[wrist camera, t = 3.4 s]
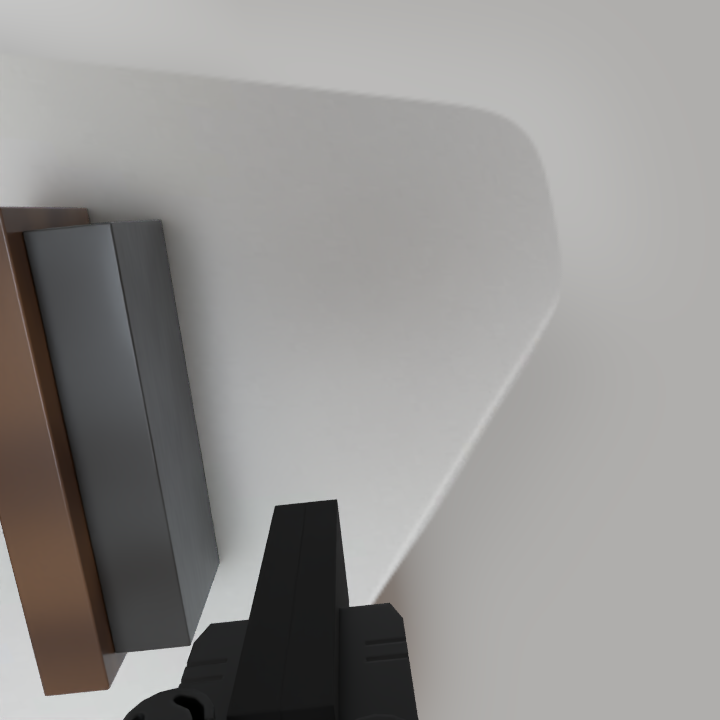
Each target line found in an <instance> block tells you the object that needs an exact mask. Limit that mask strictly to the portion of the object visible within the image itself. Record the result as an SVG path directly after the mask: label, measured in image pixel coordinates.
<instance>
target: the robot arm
mask: <svg viewBox="0 0 720 720" xmlns="http://www.w3.org/2000/svg"><path fill="white" fill-rule="evenodd" d="M124 720H418V715H417V709H416V702H415V695H414V689H413V682H412V676H411V669H410V662H409V657H408V649H407V643H406V636H405V629H404V623H403V618H402V617H401V615H400V614H399V613H398V612H397V611H396V610H395V609H394V607H393V606H392V605H391V604H390V603H384V604H374V605H365V606H356V607H349V597H348V588H347V580H346V571H345V563H344V554H343V546H342V537H341V529H340V520H339V512H338V503H337V499H335V500H326V501H316V502H307V503H297V504H288V505H278V506H275V509H274V513H273V517H272V522H271V526H270V530H269V535H268V539H267V543H266V548H265V552H264V556H263V561H262V565H261V569H260V574H259V578H258V582H257V587H256V591H255V595H254V599H253V604H252V608H251V612H250V617H249V620H242V621H233V622H223V623H214V624H210V625H209V626H208V627H207V629H206V630H205V631H204V632H203V633H202V634H201V635H200V636H199V638H198V639H197V640H196V641H195V642H194V644H193V647H192V650H191V653H190V656H189V659H188V662H187V667H185V670H184V673H183V676H182V679H181V684H180V685H179V687H178V688H175V689H171V690H167V691H163V692H159V693H157V694H155V695H153V696H151V697H149V698H147V699H146V700H144V701H142V702H141V703H139V704H138V705H137V706H136V707H135V708H134V709H132V710H131V711H130V712H129V713H128V714H127V715H126V717H125V718H124Z"/></svg>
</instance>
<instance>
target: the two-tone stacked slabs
mask: <svg viewBox="0 0 720 720" xmlns="http://www.w3.org/2000/svg"><path fill="white" fill-rule="evenodd" d="M0 521H1V525H2V529H3V533H4V537H5V541H6V545H7V549H8V553H9V557H10V561H11V564H12V568H13V572H14V576H15V580H16V584H17V588H18V592H19V596H20V600H21V604H22V607H23V611H24V615H25V619H26V623H27V627H28V631H29V635H30V639H31V643H32V647H33V650H34V654H35V658H36V662H37V666H38V670H39V674H40V678H41V682H42V686H43V690H44V693H45V696H51V695H61V694H70V693H80V692H90V691H99V690H108V689H109V688H110V687H111V684H112V682H113V680H114V678H115V676H116V674H117V672H118V670H119V668H120V666H121V664H122V662H123V660H124V658H125V656H126V654H127V652H135V651H145V650H154V649H164V648H174V647H183V646H190V645H191V642H192V640H193V637H194V634H195V631H196V628H197V625H198V623H199V620H200V617H201V614H202V611H203V608H204V606H205V603H206V600H207V597H208V594H209V591H210V589H211V586H212V583H213V580H214V577H215V575H216V572H217V569H218V566H219V557H218V551H217V545H216V540H215V534H214V528H213V522H212V516H211V510H210V504H209V498H208V492H207V487H206V481H205V475H204V469H203V463H202V457H201V451H200V445H199V440H198V434H197V428H196V422H195V416H194V410H193V404H192V398H191V393H190V387H189V381H188V375H187V369H186V363H185V357H184V351H183V345H182V340H181V334H180V328H179V322H178V316H177V310H176V304H175V298H174V293H173V287H172V281H171V275H170V269H169V263H168V257H167V251H166V245H165V240H164V234H163V228H162V222H161V220H141V221H120V222H105V223H95V224H90V221H89V216H88V211H87V208H71V207H0Z"/></svg>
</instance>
